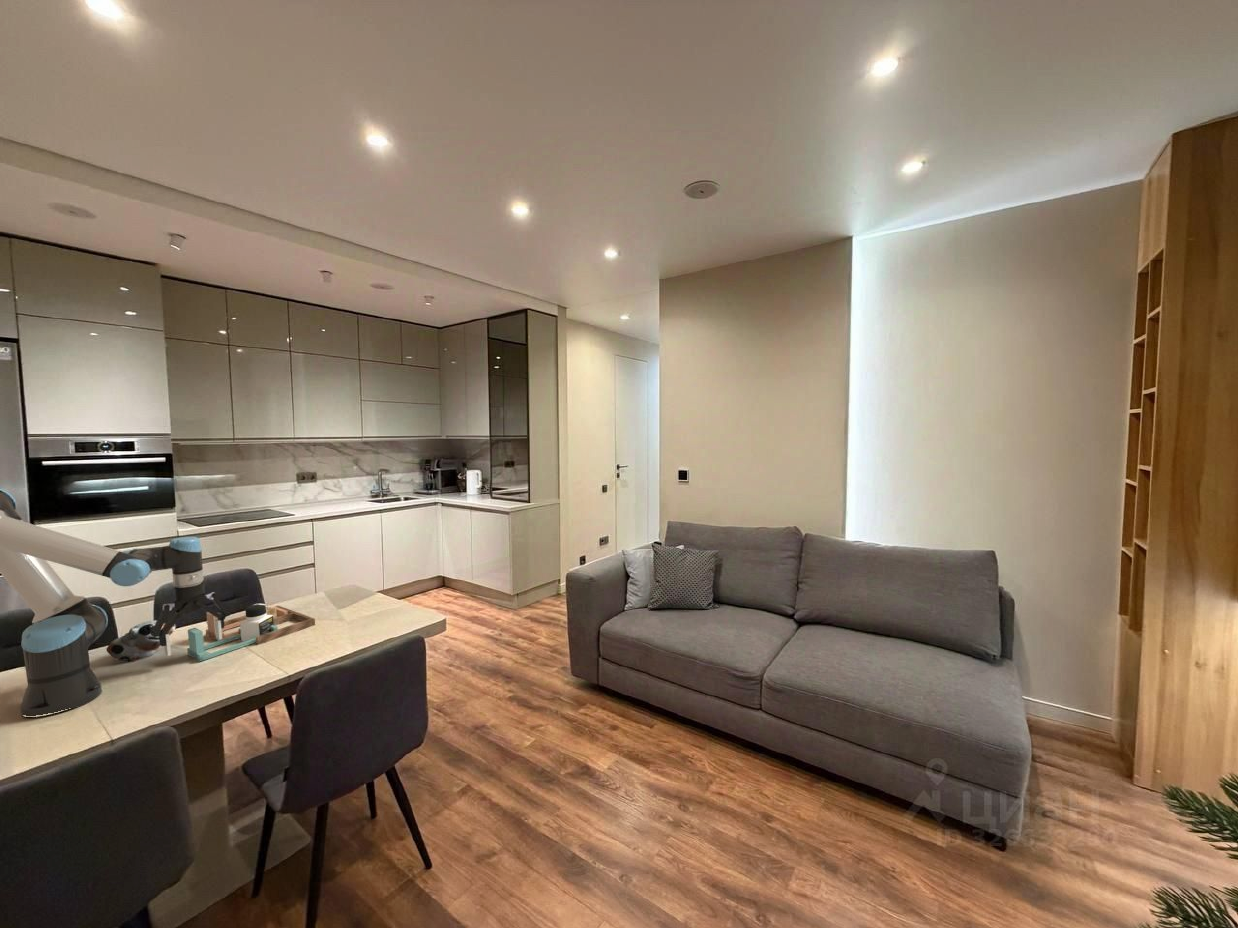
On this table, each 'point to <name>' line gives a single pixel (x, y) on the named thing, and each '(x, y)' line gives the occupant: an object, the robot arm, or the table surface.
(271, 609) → the oak cube
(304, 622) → the lane rails
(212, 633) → the sled
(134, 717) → the table surface
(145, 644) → the lucky cat figurine
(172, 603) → the robot arm
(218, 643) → the frame
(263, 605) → the medicine bottle
